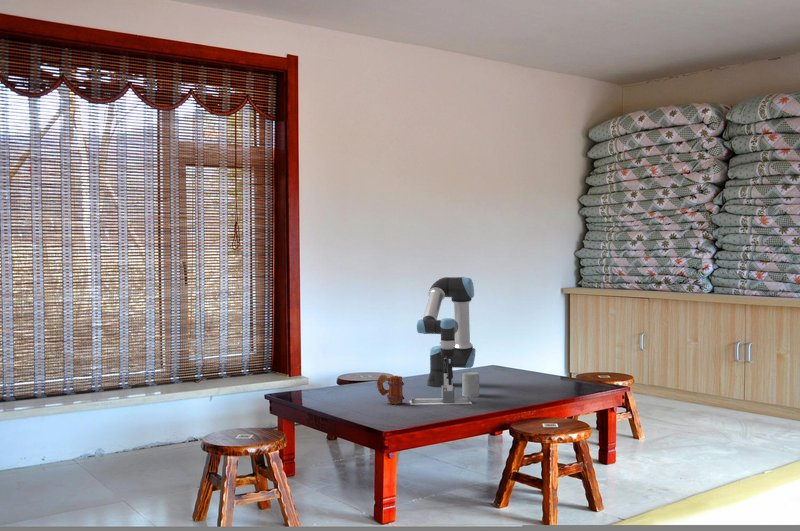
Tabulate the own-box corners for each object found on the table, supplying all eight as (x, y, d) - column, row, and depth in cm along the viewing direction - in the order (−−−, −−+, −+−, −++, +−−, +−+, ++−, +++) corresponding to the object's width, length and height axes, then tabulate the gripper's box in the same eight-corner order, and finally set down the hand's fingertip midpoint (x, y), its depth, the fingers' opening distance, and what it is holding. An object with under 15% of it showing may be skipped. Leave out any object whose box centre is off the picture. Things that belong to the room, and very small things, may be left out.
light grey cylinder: (475, 393, 432) (475, 371, 432) (482, 396, 423) (482, 374, 423) (459, 394, 429) (459, 372, 429) (466, 397, 420) (466, 375, 420)
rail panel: (409, 401, 410) (409, 396, 410) (469, 400, 412) (469, 395, 412) (410, 404, 401) (410, 399, 401) (472, 403, 403) (472, 398, 403)
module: (441, 400, 410) (441, 385, 410) (452, 400, 410) (452, 385, 410) (443, 403, 403) (443, 387, 403) (454, 403, 403) (454, 387, 403)
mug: (406, 402, 407) (406, 374, 406) (402, 405, 399) (402, 376, 399) (380, 401, 411) (379, 372, 411) (375, 404, 403) (375, 375, 403)
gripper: (438, 344, 418) (438, 383, 419) (443, 351, 393) (443, 393, 394) (451, 344, 418) (452, 383, 419) (458, 351, 394) (458, 393, 395)
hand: (448, 388), depth 407 cm, fingers open, 13 cm apart
